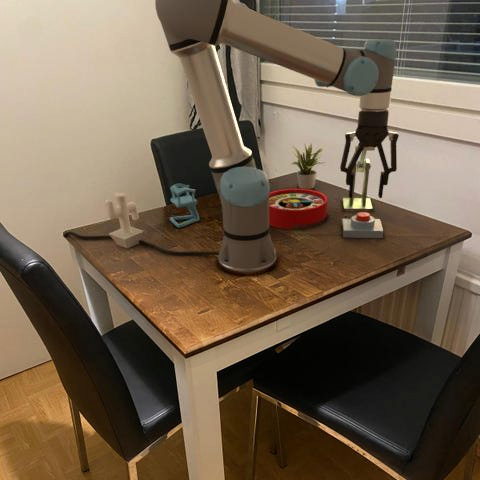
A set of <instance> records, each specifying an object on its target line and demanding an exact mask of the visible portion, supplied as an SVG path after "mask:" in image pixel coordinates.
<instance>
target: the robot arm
mask: <svg viewBox="0 0 480 480" xmlns="http://www.w3.org/2000/svg"><path fill="white" fill-rule="evenodd" d="M154 5H155V11H156V14H157V18H158V20H159V22H160V24H161V27H162V31H163V34H164V37H165V39H166V42H167V46H168V48H169V51H170V53H171V54H173V55H174V56H176V57H178V59H179V60H180V64H181V67H182V69H183V72H184V75H185V78H186V81H187V84H188V87H189V90H190V94H191V96H192V100H193V102H194V106H195V108H196V112H197V114H198V117H199V121H200V124H201V126H202V129H203V133H204V135H205V139H206V142H207V145H208V147H209V150H210V153H211V154H210V155H211V159H210V161H209V162H208V166H209V169H210V172H211V175H212V178H213V181H214V185H215V188H216V191H217V193H218V197H219V200H220V204H221V211H222V227H223V238H222V241H221V245H220V248H219V251H210V250H209V251H208V250H207V251H201V250H200V251H197V250H196V251H195V250H194V251H193V250H192V251H189V250H188V251H176V250H168V249H165V248H162V247H160V246H158V245H156V244H153V243H151V242H149V241H146V240H143V239H141V240H139V244H141V245H144V246H147V247H150V248H152V249H155V250H156V251H159V252H161V253H164V254H167V255H174V256H188V255H189V256H200V255H201V256H217V259H218V267H219V268H220V269H221V270H222V271H224V272H226V273H228V274H232V275H238V276H253V275H259V274H263V273H266V272H269V271H271V270H272V269H273V268H274V267H276V264H277V251H276V248H275V245H274V243H273V240H272V238H271V235H270V225H269V193H271V185H270V181H269V180H270V179H269V176H268V174H267V173H266V172H265V171H264V170H262V169H258V168H257V165H256V162H255V159H254V155H253V152H252V150H251V149H250V148H248V147H246V146H245V145H244V142H243V138H242V136H241V131H240V128H239V125H238V121H237V118H236V114H235V111H234V108H233V104H232V101H231V97H230V94H229V90H228V87H227V84H226V80H225V77H224V73H223V70H222V66H221V63H220V59H219V56H218V53H217V49H216V47H217V46H218V45H221V44H223V45H226V46H228V47H231V48H233V49H236V50H239V51H241V52H243V53H246V54H249V55H251V56H254V57H257V58H259V59H261V60H264V61H266V62H269V63H272V64H275V65H276V66H279V67H281V68H285V69H288V70H290V71H293V72H295V73H298V74H300V75H302V76H305V77H307V78H311V79H313V80H314V84H315V85H316V86H317V87H319V88H331V87H333V88H335V89H337V90H341V91H343V92H346V93H347V94H349V95H350V96H354V97H359V105H358V106H359V108H360V110H358V115H357V117H358V118H357V127H356V129H355V130H354V131H351V132H349V131H346V132H345V133H344V137H345V144H344V148H343V153H342V157H341V162H340V167H339V168H340V172H343V173H345V174H346V175H345V177H346V178H345V185H346V186H348V187H349V188H348V198H352V192H353V181H354V172H352V170H353V168H354V166H355V164H356V162H358V161H359V158H360V157H361V154H362V151H363V149H364V147H375V148H377V152H378V155H379V157H380V162H381V166H382V169H383V171H380V175H379V184H378V185H379V186H378V192H377V195H378V199H383V195H384V186H388V183H389V178H390V177H389V176H390V174H391V173H395V172H397V170H398V166H397V164H398V163H397V159H398V158H397V143H398V140H399V137H400V136H399V133H398V132H397V131H389V129H388V125H389V124H388V123H389V115H390V111H389V109H390V107H391V100H392V99H391V98H392V87H393V80H394V72H395V64H396V58H397V57H396V55H397V45H396V44H397V43H396V41H395V40H393V39H387V38H384V39H381V38H379V39H368V40H366V41H365V42H364V46H363V49H360V50H347V49H345V48H343V47H341V46H338V45H337V44H333V43H331V42H329V41H326V40H324V39H322V38H320V37H317V36H315V35H312V34H310V33H308V32H305V31H302V30H300V29H298V28H296V27H293V26H290V25H288V24H286V23H284V22H281V21H278V20H276V19H274V18H272V17H269V16H267V15H264V14H262V13H260V12H257V11H255V10H253V9H250V8H248V7H246V6H243V5H241V4H240V3H236V2H234V1H233V0H155V2H154ZM355 137H356V139H357V140H358V144H357V145H358V146H357V149H356V151H354V153H353V155H352V157H351V159H350V161H349V162H348V159H349V155H350V149H351V144H352V142H353V141H354V138H355ZM387 137H388V140H389V141H390V166H389V165H388V162H387V158H386V155H385V154H386V153H385V150H384V147H383V144H382V143H383V142H384V141H385V140H386V138H387ZM347 163H348V165H347ZM68 236H73V237H75V238H78V239H82V240H101V239H102V240H103V239H108V240H109V239H110V240H113V239H112V237H111V236H110V235H83V234H82V235H81V234H79V233H76V232H74V231H67V232H65V233H64V234H63V236H62V237H63V238H66V237H68Z"/></svg>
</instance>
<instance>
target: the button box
mask: <svg viewBox="0 0 480 480" xmlns="http://www.w3.org/2000/svg"><path fill="white" fill-rule="evenodd" d="M356 219H357V214H356V215H353V216H351V218H342V219H341V224H342V238H350V239H351V238H354V239H355V238H359V239H383V238H384V228H383V225H382V221H381V218H375V217H373V216H371V215H370V218H369V221H358V220H356Z"/></svg>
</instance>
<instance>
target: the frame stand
mask: <svg viewBox="0 0 480 480" xmlns="http://www.w3.org/2000/svg"><path fill="white" fill-rule="evenodd" d="M364 161H365V169H364V172H363V180H362V181H363V182H362V191H361V197H355V187H356V176H357V162H358V161H357V162H356V164H355V166H354V168H353V170H352V172H354V181H353V192H352V198H349V197H342V204H343V209H350V210H351V209H352V210H353V209H356V210H357V209H359V210H361V209H364V210H365V209H366V210H368V209H369V210H372V209H373V205H372V201H371V198H370V197H368V196H367V195H368V187H369V185H368V184H369V177H370V176H369V175H370V170H371V168H372V164H371V162H370V159H369V158H365V160H364Z"/></svg>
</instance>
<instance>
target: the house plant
mask: <svg viewBox="0 0 480 480" xmlns="http://www.w3.org/2000/svg"><path fill="white" fill-rule="evenodd" d="M303 144H304V148H305V152H303V153H302V154H301V153H300V150H299V149H298V148H296V147H295V146H293V145H292V146H291V147H292V148H293V149H294V151H295V152H294V151H292V154H293V155H295V157H296V158H297V159H298V160H297V161H293V162H291V165H296V166H297V167H298V168H299V170H298V171H296V177H297V187H298V189H307V190H312V189H314V187H315V185H316V178H317V171H316V170H315V169H313V167H315V166H316V165H318V164H319V165H321V164H322V165H323V166H325V163H327V162H325V161H323V162H319V159H320V158H321V154H320V153H321V152H323V151H325V149H324V148H326V147H327V146H326V145H325V146H322V147H320V148H319V149H318V150H316V152H314V153H312V152H313V144H312V143H310V144H309V146H308V148H307V146H306V143H303ZM319 165H318V166H319Z"/></svg>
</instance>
